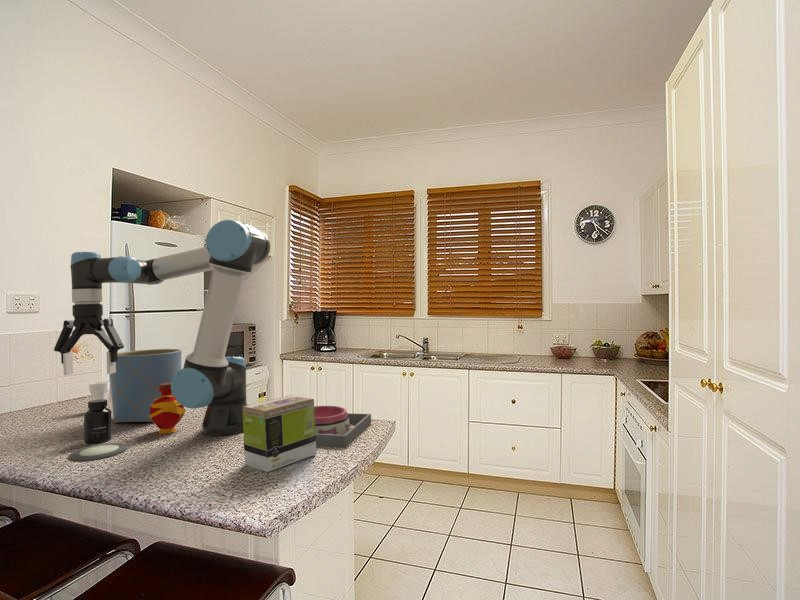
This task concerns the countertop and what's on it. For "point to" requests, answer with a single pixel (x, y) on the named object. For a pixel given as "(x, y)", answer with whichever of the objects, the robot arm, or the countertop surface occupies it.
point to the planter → (141, 381)
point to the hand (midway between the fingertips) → (90, 374)
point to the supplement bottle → (97, 422)
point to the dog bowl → (331, 420)
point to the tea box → (279, 432)
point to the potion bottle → (166, 410)
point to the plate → (98, 451)
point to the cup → (99, 390)
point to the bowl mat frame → (346, 439)
